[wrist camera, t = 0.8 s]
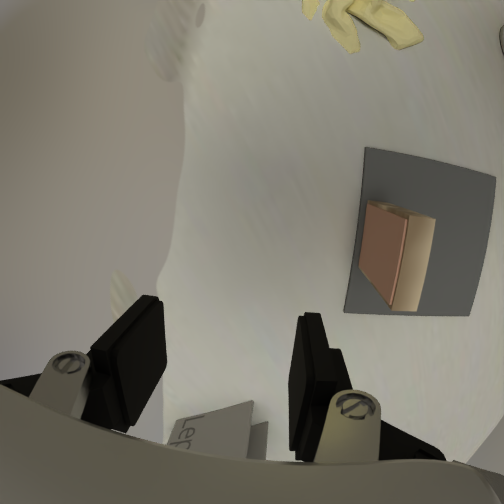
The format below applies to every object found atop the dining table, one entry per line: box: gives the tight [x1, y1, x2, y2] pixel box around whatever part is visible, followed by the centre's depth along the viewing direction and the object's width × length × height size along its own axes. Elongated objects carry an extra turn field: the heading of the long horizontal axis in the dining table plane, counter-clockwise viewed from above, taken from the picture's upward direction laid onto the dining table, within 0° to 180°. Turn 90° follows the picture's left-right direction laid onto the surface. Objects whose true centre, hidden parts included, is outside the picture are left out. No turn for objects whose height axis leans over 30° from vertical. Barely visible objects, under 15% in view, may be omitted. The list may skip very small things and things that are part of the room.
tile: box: [359, 200, 436, 311], centre depth 28 cm, size 3×8×12 cm, turn 176°
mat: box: [344, 147, 496, 316], centre depth 34 cm, size 20×20×1 cm
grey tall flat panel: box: [167, 401, 268, 460], centre depth 29 cm, size 14×6×30 cm, turn 117°
